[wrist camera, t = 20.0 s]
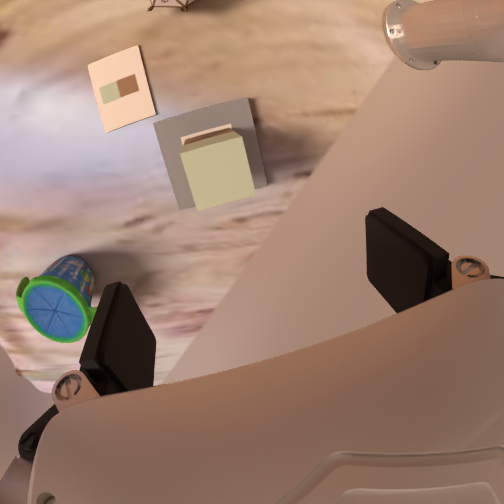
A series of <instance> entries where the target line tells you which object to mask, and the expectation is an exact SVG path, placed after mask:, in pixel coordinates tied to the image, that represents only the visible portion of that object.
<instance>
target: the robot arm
mask: <svg viewBox="0 0 504 504" xmlns="http://www.w3.org/2000/svg"><path fill="white" fill-rule="evenodd" d="M383 27H384V32H385V35H386V38H387V41H388V43H389V45H390V47H391V48H392V50H393V51H394V53H395V54H396V55H397V56H398V57H399V59H401V60H402V61H403V62H404V63H405V64H407V65H408V66H410V67H412V68H415V69H418V70H430V69H433V68H435V67H436V66H437V65H439V64H440V62H441V60H474V61H493V62H494V61H495V62H504V0H433V1H429V2H425V3H421V4H419V3H417V2H415V1H412V0H397V1H395V2H393V3H391V4H390V5H389V6H388V7H387V8H386V10H385V13H384V18H383ZM365 224H366V251H367V277H368V279H369V281H370V282H371V284H372V285H373V286H374V287H375V288H376V289H377V290H378V292H379V293H380V294H381V295H382V296H383V297H384V299H385V300H386V301H387V302H388V303H389V305H391V307H392V308H393V309H394V310H395V312H396V313H397V314H395V315H392V316H390V317H387V318H385V319H382V320H380V321H377V322H375V323H372V324H370V325H367V326H365V327H362V328H359V329H357V330H354V331H351V332H349V333H346V334H343V335H341V336H338V337H335V338H332V339H329V340H327V341H324V342H321V343H318V344H315V345H312V346H309V347H306V348H303V349H300V350H296V351H293V352H290V353H287V354H284V355H280V356H277V357H274V358H270V359H267V360H263V361H260V362H256V363H253V364H249V365H245V366H241V367H238V368H234V369H230V370H226V371H222V372H218V373H214V374H209V375H205V376H201V377H197V378H192V379H188V380H183V381H178V382H174V383H168V384H163V385H158V386H153V381H154V366H155V353H156V339H155V336H154V334H153V332H152V330H151V329H150V327H149V325H148V323H147V322H146V320H145V318H144V316H143V314H142V312H141V311H140V309H139V307H138V305H137V303H136V301H135V299H134V297H133V295H132V293H131V291H130V289H129V288H128V286H127V285H126V284H122V283H121V282H116V283H113V284H109V285H106V287H105V289H104V291H103V294H102V297H101V299H100V302H99V305H98V307H97V310H96V313H95V315H94V318H93V321H92V324H91V327H90V330H89V333H88V336H87V339H86V342H85V345H84V348H83V351H82V354H81V357H80V361H79V363H80V364H81V367H80V370H79V371H78V370H72V371H69V372H66V373H65V374H63V375H62V376H61V377H60V378H59V379H58V380H57V381H56V382H55V384H54V386H53V389H52V398H53V401H54V403H55V404H54V405H53V406H52V407H51V408H50V409H49V410H48V411H46V412H45V413H44V414H43V415H42V416H41V417H40V418H39V419H38V420H37V421H36V422H34V424H32V425H31V426H30V427H29V428H28V429H27V430H26V431H25V432H24V433H23V434H22V436H21V438H20V440H19V444H18V450H19V454H20V458H17V457H16V456H15V458H14V459H13V461H12V463H11V464H10V466H9V467H8V469H7V471H6V472H5V474H4V476H3V477H2V479H1V480H0V504H504V277H500V276H493V275H490V273H489V268H488V266H487V265H486V264H485V262H483V261H482V260H481V259H479V258H476V257H473V256H459V257H457V258H455V259H454V260H453V261H452V262H451V261H450V260H448V259H449V253H448V252H446V251H445V250H444V249H442V248H441V247H440V246H438V245H437V244H436V243H434V242H433V241H431V240H430V239H429V238H428V237H426V236H425V235H423V234H422V233H421V232H419V231H418V230H416V229H415V228H413V227H412V226H411V225H409V224H408V223H406V222H405V221H403V220H402V219H400V218H399V217H397V216H396V215H394V214H393V213H391V212H390V211H388V210H387V209H385V208H383V207H382V208H378V209H374V210H371V211H369V213H368V215H367V216H366V218H365Z"/></svg>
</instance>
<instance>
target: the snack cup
mask: <svg viewBox="0 0 504 504" xmlns="http://www.w3.org/2000/svg"><path fill="white" fill-rule="evenodd" d="M93 289H94V276H93V274H92V271H91V269H90V268H89V266H88V265H87V264H86V263H85V262H84V261H83V260H82V259H81V258H77V257H74V256H65V257H61V258H59V259H58V260H57V261H55V262H54V263H53V264H52V265H51V266H49V267H48V268H47V269H46V270H45V271H44V272H43V273H42V274H41V275H39V276H38V277H35V278H33V279H31V280H30V281H29V278H28V277H24V278H23V279H22V280H21V282H20V284H19V286H18V288H17V291H16V298H17V302H18V305H19V308H20V310H21V311H22V312H23V313H24V314H25V316H26V318H27V320H28V321H29V323H30V324H31V325H32V326H33V327H34V328H35V329H36V330H37V331H38V332H39V333H40V334H42V335H43V336H45V337H46V338H49V339H50V340H53V341H56V342H61V343H71V342H75V341H78V340H80V339H81V338H82V337H83V336H84V335H85V334H86V332H87V330H88V327H89V326H90V325H91V324H92V321H93V318H94V315H95V313H96V310H97V307H96V308H95V307H91V300H92V295H93Z"/></svg>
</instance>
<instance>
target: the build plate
mask: <svg viewBox="0 0 504 504" xmlns="http://www.w3.org/2000/svg"><path fill="white" fill-rule="evenodd" d="M153 124H154V128H155V131H156V135H157V138H158V142H159V145H160V148H161V152H162V155H163V158H164V162H165V165H166V168H167V171H168V175H169V178H170V181H171V184H172V187H173V190H174V194H175V197H176V200H177V203H178V206H179V209H180V210H182V209H185V208H188V207H192V206H195V202H194V199H193V195H192V192H191V189H190V186H189V182H188V179H187V176H186V173H185V169H184V166H183V163H182V159H181V156H180V152H181V149H182V146H183V145H184V142H185V139H188V138H192V137H195V136H199V135H203V134H206V133H210V132H214V131H218V130H222V129H226V128H230V129H231V130H233V131H234V132H236V133H237V134H239V135H240V136H242V138H243V142H244V147H245V151H246V155H247V159H248V163H249V167H250V172H251V176H252V180H253V184H254V189H256V188H260V187H264V186H267V181H266V176H265V172H264V167H263V162H262V158H261V153H260V149H259V144H258V140H257V135H256V131H255V127H254V122H253V118H252V114H251V109H250V105H249V101H248V98H243V99H239V100H235V101H230V102H226V103H222V104H218V105H214V106H210V107H206V108H202V109H199V110H195V111H192V112H188V113H185V114H181V115H178V116H175V117H171V118H168V119H165V120H162V121H159V122H156V123H153Z"/></svg>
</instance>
